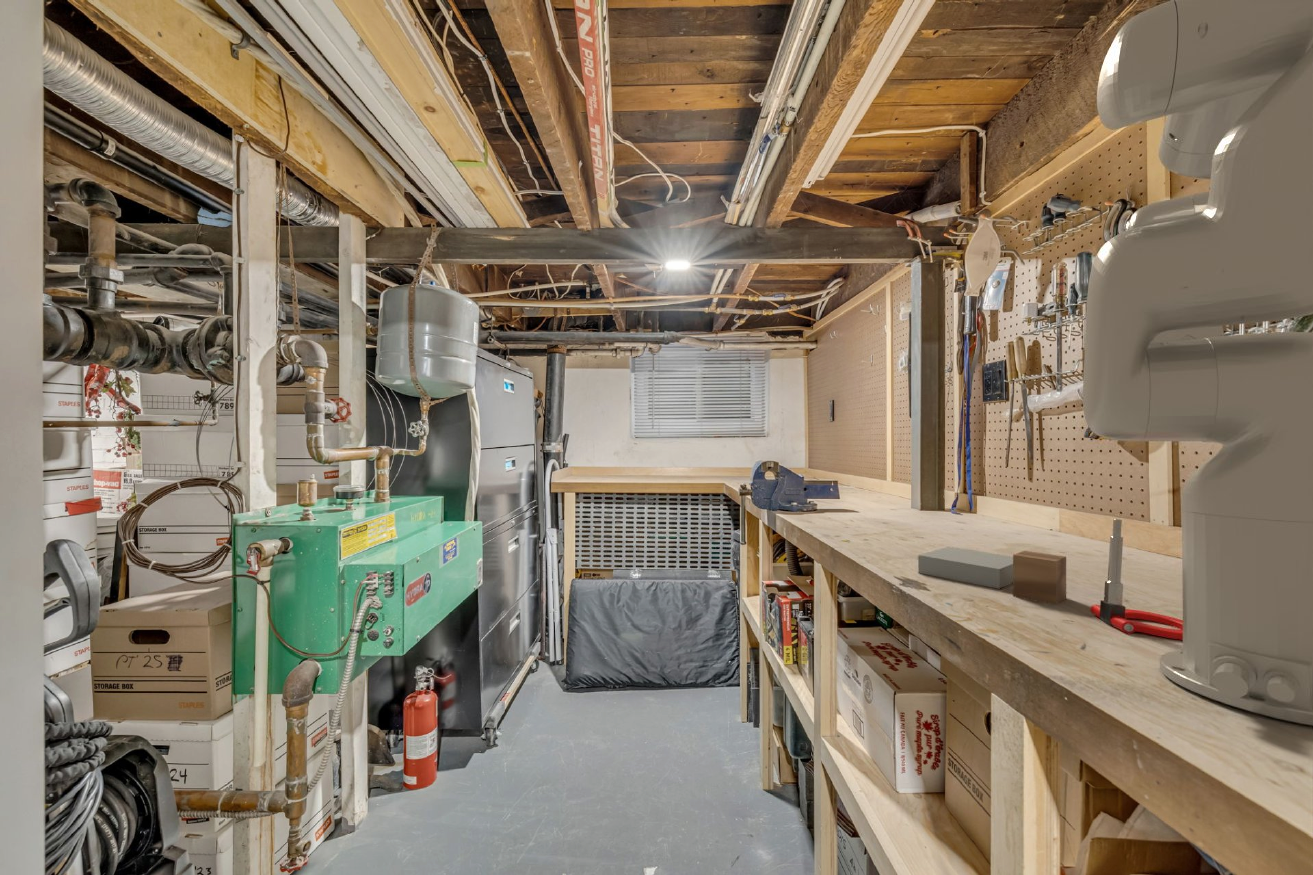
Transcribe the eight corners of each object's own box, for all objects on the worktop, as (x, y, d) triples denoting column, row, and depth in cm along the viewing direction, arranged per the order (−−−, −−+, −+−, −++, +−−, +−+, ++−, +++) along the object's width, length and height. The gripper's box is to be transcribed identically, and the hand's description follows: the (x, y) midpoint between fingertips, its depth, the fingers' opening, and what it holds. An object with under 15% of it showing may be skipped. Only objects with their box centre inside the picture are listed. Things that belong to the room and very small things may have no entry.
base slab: (999, 589, 77) (999, 569, 77) (918, 572, 86) (918, 555, 86) (1025, 576, 84) (1025, 558, 84) (948, 563, 94) (948, 546, 94)
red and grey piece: (1172, 623, 64) (1085, 612, 66) (1178, 521, 64) (1090, 514, 66) (1227, 649, 56) (1125, 636, 58) (1233, 532, 56) (1131, 524, 58)
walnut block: (1055, 605, 69) (1055, 561, 69) (1013, 596, 73) (1013, 554, 73) (1066, 598, 72) (1066, 556, 73) (1024, 590, 76) (1024, 550, 76)
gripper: (1119, 300, 71) (1120, 422, 71) (1269, 294, 68) (1270, 422, 68) (1085, 314, 79) (1086, 424, 78) (1219, 310, 75) (1220, 425, 75)
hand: (1171, 423), depth 73 cm, fingers open, 9 cm apart
